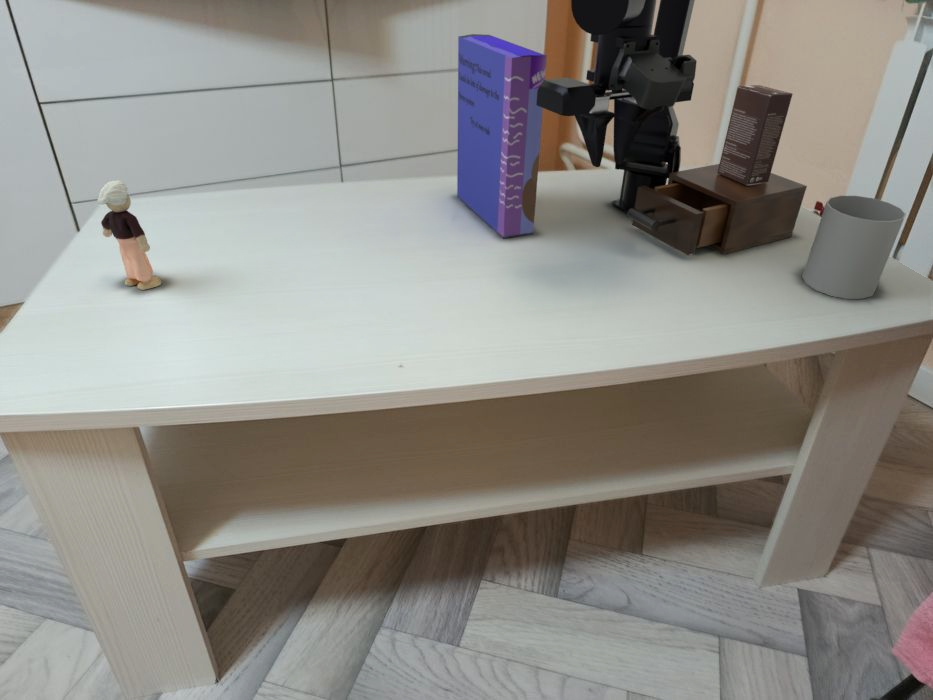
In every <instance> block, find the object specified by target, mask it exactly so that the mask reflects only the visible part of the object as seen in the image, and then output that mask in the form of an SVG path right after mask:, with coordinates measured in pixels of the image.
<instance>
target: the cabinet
mask: <svg viewBox="0 0 933 700" xmlns="http://www.w3.org/2000/svg"><path fill="white" fill-rule="evenodd" d="M719 164H720V163H716V164H711V165H706V166H700V167H695V168H689V169H685V170H684V169H683V170H679V171H678V172H673V173H670V175H669V178H668V179H667V185H668V184H673V183H678V182H679V183H681V184H684V185H686V186H688V187H691V188H693V189H695V190H698V191H700V192H702V193H704V194H707V195H709V196H711V197H714V198H716V199H718V200H721V201H723V202H725V203H727V204H730V205H731V208H730V212H729V216H728V220H727V224H726V228H725V232H724V236H723V240H722V242H719V243H715V244H711V245H707V246H706V247H708V248H710V249H712V250H714V251H715V252H718V253H720V254H722V255H726V254H730V253H734V252H738V251H742V250H746V249H749V248H753V247H758V246H761V245H765V244H770V243H773V242H777V241H780V240H784V239H788V238H791V237H792V236H793V234H794V229H795V226H796V223H797V220H798V216H799V213H800V210H801V206H802V203H803V200H804V198H805V194H806V191H807V189H808V188H807V187H808V186H807V185H805V184H802V183H800V182H797V181H794V180H791V179H789V178H786V177H783V176H781V175H778V174H775V173H773V172H771V174H770V177H769V181H768V182H766V183H762V184H758V185H752V186H746V185H744V184H742V183H740V182H738V181H735V180H733V179H731V178H728V177H726V176H723V175H721V174H718V173H717V172H718V168H719Z"/></svg>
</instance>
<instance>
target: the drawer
mask: <svg viewBox="0 0 933 700" xmlns="http://www.w3.org/2000/svg"><path fill="white" fill-rule="evenodd" d="M730 208H731V205H730V204H727V203H725V202H723V201H721V200H718V199H716V198H714V197H711V196H709V195H707V194H704V193H702V192H700V191H698V190H695V189H693V188H691V187H688V186H686V185H684V184H681V183H679V182H678V183H673V184H668V183H667V184H666V185H662V186H657V187H655V190H653V189H651V188H649V187H647V186H645V185H644V186H639V187H638V191H637V197H636V203H635V209H634V208H631V209H629V211H628V213H626V216H627V218H628V219H631V220H632V221H631V226H633V227H635V228H637V229H638V230H640V231H642V232H644V233H645V234H648V235H649V236H651V237H653V238H654V239H656V240H659V241H660V242H662V243H664V244H665V245H668V246H669V247H671V248H673V249H674V250H675V249H676V250H677V251H679V252H680V253H683V254H684V255H686V256H691V255H695V253H696V248H703V247H708V246H707V245H711V244H715V243H719V242H722V240H723V236H724V232H725V228H726V224H727V220H728V216H729V212H730Z"/></svg>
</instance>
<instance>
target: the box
mask: <svg viewBox="0 0 933 700" xmlns="http://www.w3.org/2000/svg"><path fill="white" fill-rule="evenodd" d="M793 95H794V94H793V93H792V92H788V91H783V90H779V89H775V88H772V87H768V86H764V85H760V84H752V85H739V86H737V88H736V92H735V97H734V101H733V104H732V108H731V109H732V110H731V113H730V118H729V122H728V126H727V131H726V135H725V138H724V143H723V147H722V152H721V156H720V159H719V163H718V164H719V168H718V172H717V173H718V174H721V175H723V176H726V177H728V178H731V179H733V180H735V181H738V182H740V183H742V184H744V185H746V186H752V185H758V184H762V183H766V182H768V181H769V177H770V174H771V173H772V170H773V165H774V162H775V159H776V155H777V151H778V148H779V145H780V140H781V139H782V138H781V137H782V134H783V130H784V127H785V123H786V119H787V116H788V112H789V109H790V105H791V101H792V98H793Z"/></svg>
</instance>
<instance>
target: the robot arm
mask: <svg viewBox="0 0 933 700" xmlns="http://www.w3.org/2000/svg"><path fill="white" fill-rule="evenodd" d="M695 1H696V0H660V1H659V5H658V11H657V15H656V20H655V12H656V6H657V0H570V3H571V5H570V7H571V13H572V17H573V20H574V21H575V23H576V24H577V26H578V27H579V28H580V30H583V32H586V33H587V34H590V42H593V43H596V52H595V61H594V68H593V69H588V70H586V77H585V78H586V80H587V81H589V82H592V83H586V82H584V81H581V80H578V79H575V78H572V77H561V78H560V77H559V78H550V79H545V80H544V81H543V82H542V83H541V85H540V86H539V88H538V90H537V103H536V105H537V106H539V107H542V108H543V110H547V111H549V112H552V113H555V114H557V115H559V116H562V117H574V118H575V120H576V122H577V125H578V128H579V130H580V132H581V135H582V138H583V141H584V143H585V147H586V150H587V154H588V156H589V160H590V163H591V165H592V166H593V167H595V168H600V167H601V163H602V160H603V156H604V149H605V142H606V135H607V130H608V129H607V128H608V125H609V123H610V122H611V121H612V120H613V159H614V160H613V161H614V170H618V171H619V170H622V171H623V175H622V183H621V189H620V196H619V199H617V200H612V201H611V205H612V206H613V207H614V208H617V209H619V210H620V211H623V212H624V213H626V214H627V213H628V211H629V209H631V208H634V209H635V203H636V197H637V191H638V187H639V186H644V185H645V186H647V187H649V188H651V189H653V190H655V187H657V186H662V185H667V182H668V179H669V175H670V173H673V172H678V171H680V168H681V161H682V147H681V145H680V136H678V131H679V125H680V124H679V121H678V117H677V115H676V112H675V109H674V106H675V104H676V103H682V102H689V101H692V96H693V91H694V87H695V82H694V81H695V78H696V72H697V71H696V70H697V59H696V58H694V57H693V56H692V55H691V54H684V50H685V45H686V42H687V36H688V32H689V28H690V23H691V19H692V14H693V10H694V6H695ZM654 20H655V26H654V30H653V24H654ZM653 31H654V32H653ZM652 33H653V34H652ZM612 100H613V111H610V110H609V105H610V101H612Z"/></svg>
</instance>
